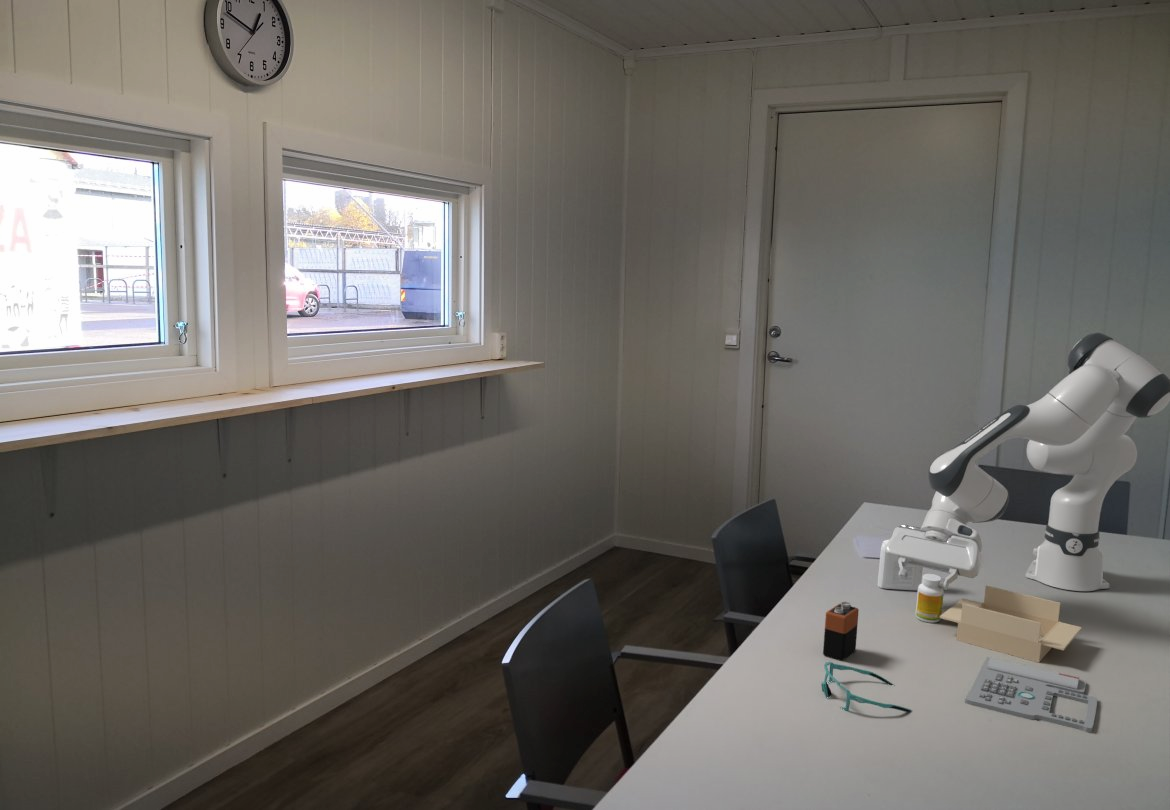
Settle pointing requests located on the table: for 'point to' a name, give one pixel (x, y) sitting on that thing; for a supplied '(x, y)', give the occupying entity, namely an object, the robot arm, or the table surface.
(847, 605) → the battery
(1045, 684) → the office telephone
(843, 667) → the sunglasses
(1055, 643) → the carton
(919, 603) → the supplement bottle
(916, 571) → the photo printer
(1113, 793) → the table surface
